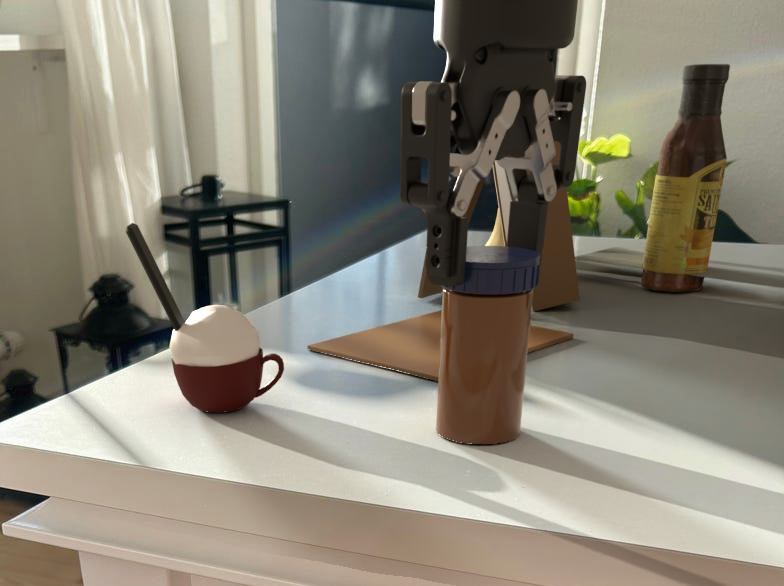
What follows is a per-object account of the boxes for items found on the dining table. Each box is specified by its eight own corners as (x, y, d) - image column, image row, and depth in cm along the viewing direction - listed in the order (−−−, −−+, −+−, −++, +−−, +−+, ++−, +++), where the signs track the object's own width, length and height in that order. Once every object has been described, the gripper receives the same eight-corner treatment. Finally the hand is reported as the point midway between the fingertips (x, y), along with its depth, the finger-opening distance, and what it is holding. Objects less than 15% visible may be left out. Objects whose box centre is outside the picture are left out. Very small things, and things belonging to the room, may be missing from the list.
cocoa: (295, 402, 72) (291, 221, 66) (246, 428, 68) (237, 235, 62) (186, 385, 77) (173, 213, 71) (134, 407, 72) (115, 226, 66)
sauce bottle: (695, 297, 100) (734, 64, 90) (631, 291, 103) (663, 64, 93) (710, 285, 105) (750, 62, 95) (649, 279, 108) (681, 63, 98)
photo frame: (546, 267, 114) (571, 4, 102) (578, 311, 95) (614, -5, 83) (412, 268, 115) (421, 8, 103) (419, 311, 96) (431, -1, 84)
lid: (478, 271, 65) (480, 242, 64) (558, 283, 62) (561, 252, 61) (418, 285, 62) (419, 255, 61) (498, 299, 58) (501, 267, 57)
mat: (444, 313, 96) (444, 309, 95) (573, 338, 87) (574, 333, 87) (307, 350, 85) (307, 345, 85) (438, 382, 76) (438, 377, 76)
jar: (470, 413, 70) (481, 250, 64) (536, 431, 66) (553, 260, 61) (418, 432, 66) (425, 262, 61) (485, 451, 63) (499, 274, 58)
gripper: (530, -45, 60) (505, 252, 68) (363, -58, 51) (358, 284, 60) (646, -54, 55) (604, 267, 64) (483, -70, 47) (459, 303, 55)
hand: (485, 274), depth 62 cm, fingers open, 7 cm apart
